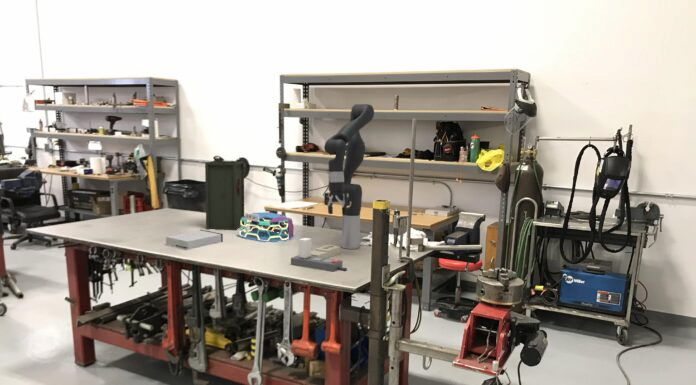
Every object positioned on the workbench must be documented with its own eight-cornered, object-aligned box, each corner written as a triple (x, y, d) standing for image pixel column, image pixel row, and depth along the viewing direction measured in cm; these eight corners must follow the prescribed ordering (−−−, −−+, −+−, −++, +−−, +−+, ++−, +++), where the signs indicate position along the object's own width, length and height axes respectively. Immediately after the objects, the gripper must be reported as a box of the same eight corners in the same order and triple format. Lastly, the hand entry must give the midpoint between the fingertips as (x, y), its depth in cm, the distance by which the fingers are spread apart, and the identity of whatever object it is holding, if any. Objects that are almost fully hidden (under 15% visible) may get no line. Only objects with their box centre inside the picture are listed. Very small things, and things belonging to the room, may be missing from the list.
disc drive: (222, 242, 264) (222, 233, 264) (187, 250, 246) (187, 240, 245) (201, 238, 274) (200, 229, 273) (165, 245, 256) (165, 236, 255)
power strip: (300, 260, 229) (300, 252, 229) (350, 268, 218) (350, 260, 217) (290, 264, 222) (290, 256, 222) (342, 272, 211) (342, 264, 210)
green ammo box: (215, 223, 315) (214, 160, 310) (244, 224, 314) (243, 161, 309) (206, 229, 296) (205, 162, 291) (236, 230, 296) (236, 163, 291)
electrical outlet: (305, 250, 233) (328, 244, 248) (305, 259, 233) (328, 252, 248) (317, 253, 229) (340, 246, 243) (317, 261, 229) (340, 254, 244)
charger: (304, 262, 227) (304, 237, 225) (311, 263, 225) (311, 238, 223) (298, 264, 222) (299, 239, 221) (305, 265, 221) (305, 240, 219)
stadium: (303, 237, 280) (303, 212, 278) (272, 245, 260) (272, 218, 259) (260, 229, 300) (260, 206, 299) (228, 235, 281) (228, 210, 280)
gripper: (352, 180, 237) (353, 214, 239) (330, 180, 246) (331, 212, 248) (342, 181, 232) (343, 216, 233) (320, 181, 241) (321, 214, 242)
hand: (337, 214), depth 240 cm, fingers open, 8 cm apart
